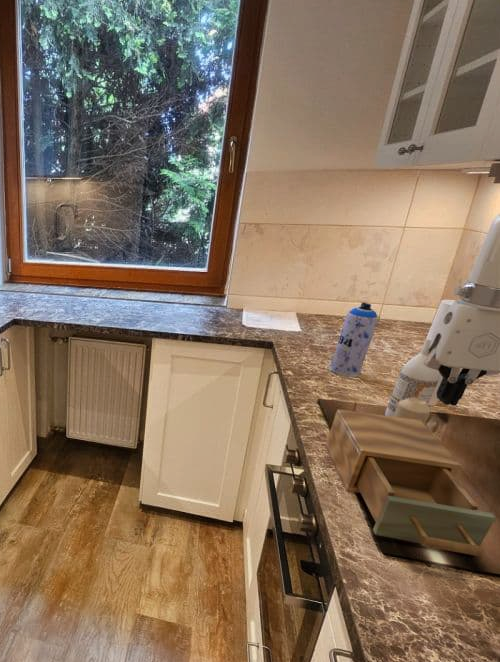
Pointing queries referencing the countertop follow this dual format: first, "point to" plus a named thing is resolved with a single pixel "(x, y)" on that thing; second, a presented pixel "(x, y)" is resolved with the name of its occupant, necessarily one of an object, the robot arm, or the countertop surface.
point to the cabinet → (382, 443)
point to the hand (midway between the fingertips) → (446, 401)
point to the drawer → (422, 505)
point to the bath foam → (414, 380)
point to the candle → (413, 409)
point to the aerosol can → (354, 341)
